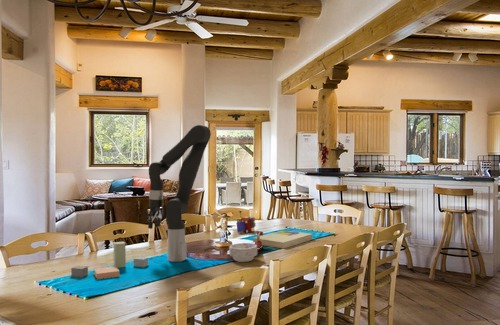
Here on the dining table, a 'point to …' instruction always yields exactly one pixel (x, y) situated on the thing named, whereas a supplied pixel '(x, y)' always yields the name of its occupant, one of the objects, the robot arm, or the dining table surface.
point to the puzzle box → (284, 239)
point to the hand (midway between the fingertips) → (154, 227)
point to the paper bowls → (243, 251)
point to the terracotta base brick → (106, 272)
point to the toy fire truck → (259, 239)
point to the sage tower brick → (119, 254)
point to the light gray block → (140, 262)
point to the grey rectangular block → (79, 271)
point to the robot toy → (245, 224)
